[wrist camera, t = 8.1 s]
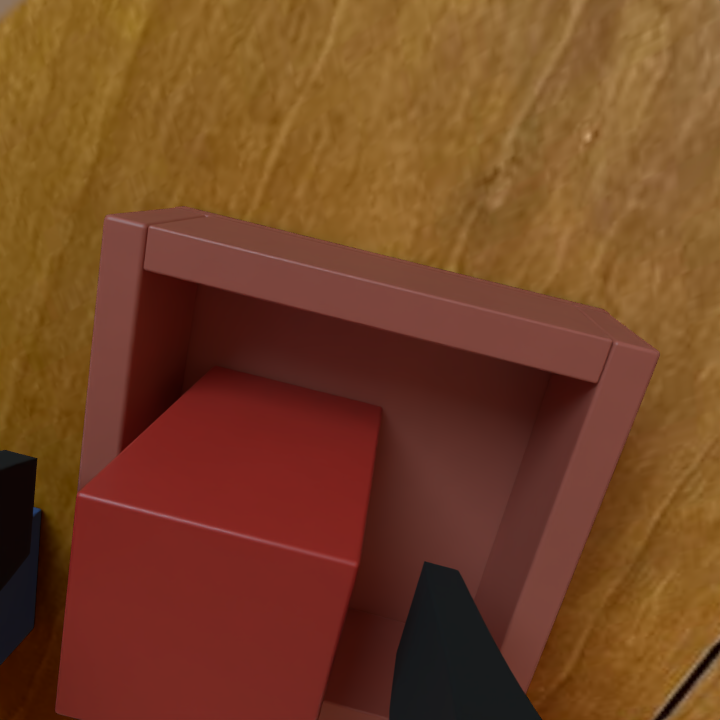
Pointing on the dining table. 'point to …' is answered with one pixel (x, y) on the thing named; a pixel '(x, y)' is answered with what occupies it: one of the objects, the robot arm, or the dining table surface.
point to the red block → (219, 557)
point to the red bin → (386, 409)
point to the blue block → (20, 597)
